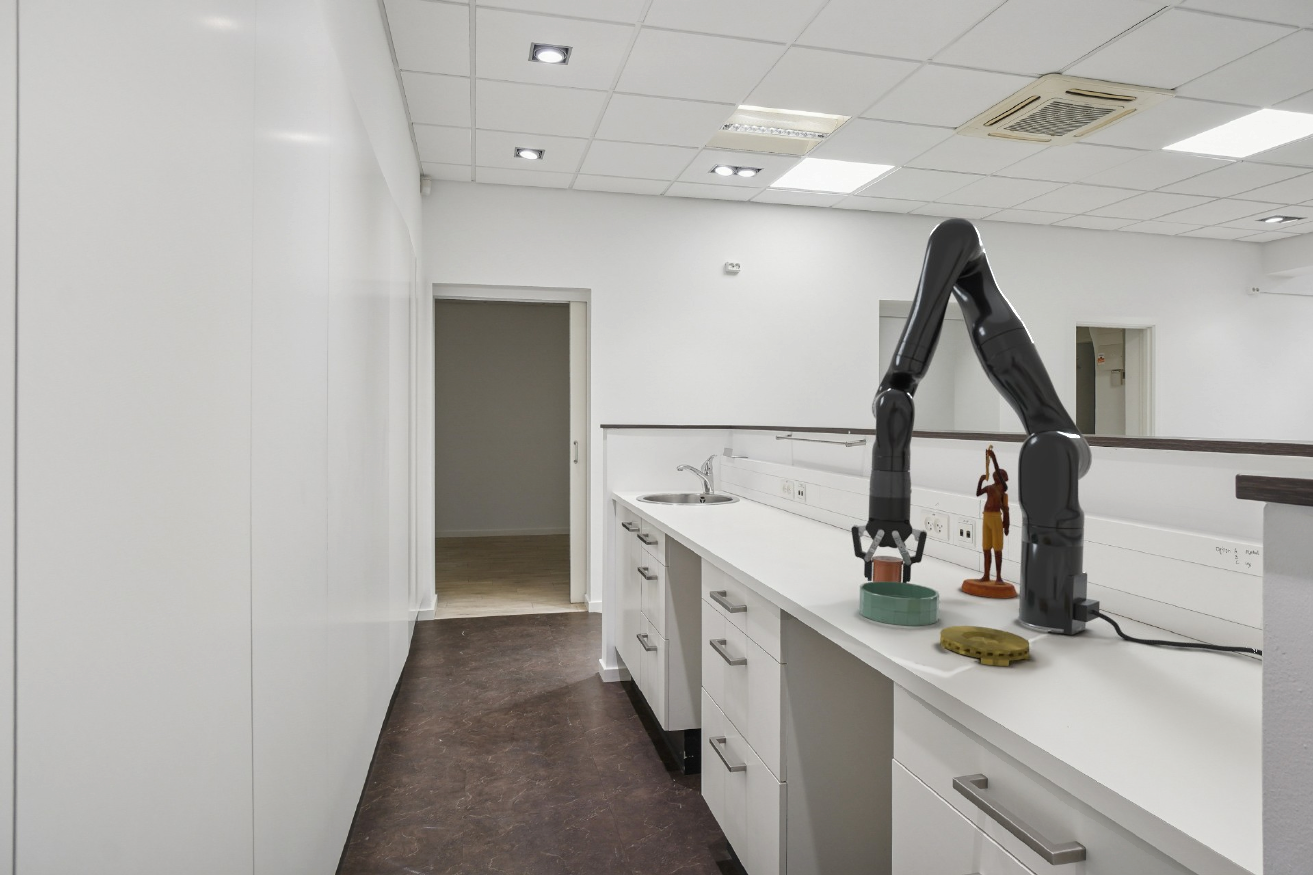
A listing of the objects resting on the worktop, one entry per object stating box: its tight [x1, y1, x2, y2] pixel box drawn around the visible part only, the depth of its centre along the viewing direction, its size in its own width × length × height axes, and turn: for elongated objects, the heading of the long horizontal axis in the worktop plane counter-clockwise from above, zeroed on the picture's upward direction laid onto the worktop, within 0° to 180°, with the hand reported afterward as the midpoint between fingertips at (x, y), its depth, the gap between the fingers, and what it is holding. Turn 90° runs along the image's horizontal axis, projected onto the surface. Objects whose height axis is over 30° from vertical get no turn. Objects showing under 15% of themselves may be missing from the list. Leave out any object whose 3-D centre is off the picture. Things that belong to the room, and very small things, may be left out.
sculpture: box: [960, 444, 1018, 599], centre depth 145 cm, size 10×10×30 cm
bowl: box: [858, 581, 940, 627], centre depth 124 cm, size 13×13×5 cm
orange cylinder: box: [872, 555, 904, 582], centre depth 136 cm, size 6×6×7 cm
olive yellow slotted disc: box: [939, 625, 1030, 667], centre depth 107 cm, size 12×12×2 cm
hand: (887, 581), depth 136 cm, fingers closed on orange cylinder, 5 cm apart
